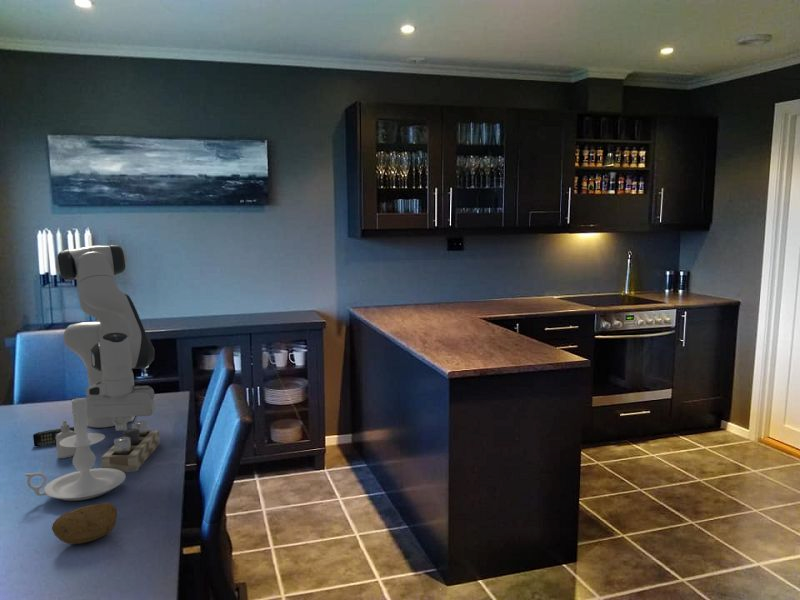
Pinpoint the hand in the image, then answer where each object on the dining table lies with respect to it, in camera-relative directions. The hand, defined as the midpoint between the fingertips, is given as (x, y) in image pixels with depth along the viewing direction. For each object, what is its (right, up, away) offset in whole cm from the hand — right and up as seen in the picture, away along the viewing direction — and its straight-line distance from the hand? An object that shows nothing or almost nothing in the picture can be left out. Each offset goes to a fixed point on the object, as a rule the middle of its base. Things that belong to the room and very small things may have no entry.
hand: (121, 430), depth 193 cm
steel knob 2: (-1, -6, +17) cm, 18 cm away
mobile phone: (-33, -10, +25) cm, 42 cm away
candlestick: (-4, -15, -18) cm, 23 cm away
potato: (+11, -18, -43) cm, 48 cm away
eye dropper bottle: (-23, -11, +11) cm, 28 cm away
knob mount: (-1, -11, +9) cm, 14 cm away
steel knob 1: (0, -8, +1) cm, 8 cm away
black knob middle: (-1, -7, +9) cm, 11 cm away
